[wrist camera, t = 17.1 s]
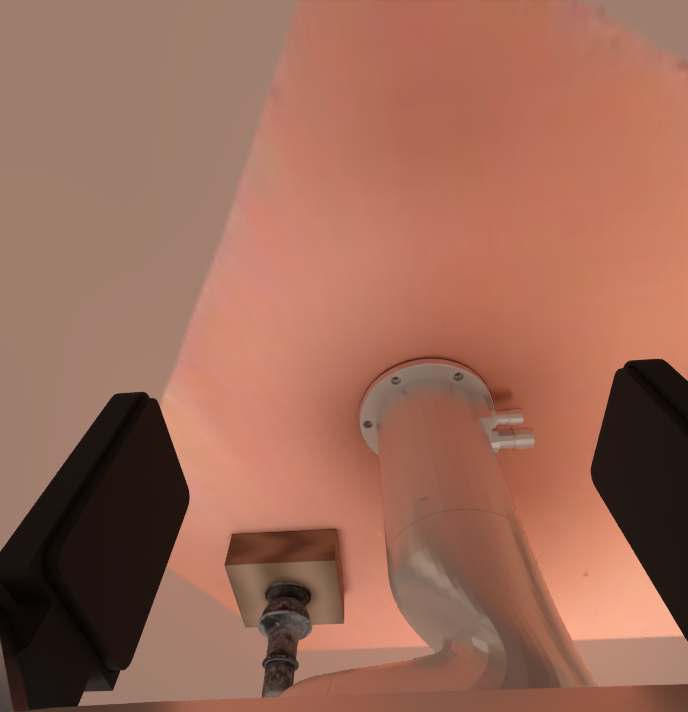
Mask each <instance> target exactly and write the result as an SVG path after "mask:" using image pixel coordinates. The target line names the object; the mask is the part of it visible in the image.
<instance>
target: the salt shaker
mask: <svg viewBox="0 0 688 712" xmlns="http://www.w3.org/2000/svg"><path fill="white" fill-rule="evenodd" d="M265 598H266V600H267V602H269V604H268V605H267V606H266V608H265V609H264V611H263V613H262V616H261V617H260V619H259V620H258V623H257V625H258V629H259V631H260V632H261V633H262V634H263V635H264V636H265V637H267V638H268V649H267V656H266V658H265V660H264V661H263V663H262V665H263V667H264V668H265V676H264V684H263V691H262V698H270V697H279V696H280V695H281V694H282V693H283V692H284V691H285V690H287V689H288V688H289V687H291V686H292V685H293V680H294V671H296V670H297V669H298V666H299V665H298V662H297V660H296V654H297V645H298V641H299V640H301V639H303V638H305V637H306V636H307V635H309V634H310V632H311V630H312V623H311V621H310V617H309V614H308V611H307V608H306V607H305V606H306V605H307V604H308V603H309V602H310V600H311V592H310V590H309V589H308V588H307V587H305V586H304V585H302V584H300V583H297V582H292V581H282V582H277V583H274V584H272V585H270V586H269V587H268V588H267V589H266V592H265Z"/></svg>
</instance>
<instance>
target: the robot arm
mask: <svg viewBox="0 0 688 712" xmlns="http://www.w3.org/2000/svg"><path fill="white" fill-rule="evenodd" d="M523 421H524V417H523V412H522V410H521V409H511V410H505V411H495V409H494V403H493V400H492V397H491V394H490V392H489V390H488V388H487V386H486V384H485V383H484V382H483V380H482V379H481V378H480V377H479V376H478V375H477V374H476V373H474V372H473V371H472V370H471V369H469V368H467V367H465V366H463V365H461V364H459V363H456V362H452V361H448V360H443V359H419V360H414V361H410V362H406V363H403V364H401V365H398V366H396V367H393V368H392V369H390V370H388V371H387V372H385V373H384V374H382V375H381V376H380V377H379V378H378V379H376V380H375V381H374V382H373V383H372V385H371V386H370V387H369V389H368V390H367V391H366V393H365V395H364V397H363V399H362V402H361V406H360V411H359V423H360V430H361V434H362V436H363V439H364V441H365V442H366V444H367V445H368V447H369V448H370V449H371V450H372V451H373V452H374V453H375V454H376V455H377V456H379V468H380V480H381V492H382V505H383V517H384V529H385V541H386V554H387V564H388V576H389V582H390V587H391V591H392V594H393V597H394V600H395V602H396V604H397V606H398V608H399V610H400V612H401V613H402V615H403V616H404V618H405V619H406V621H407V622H408V623H409V625H410V626H411V627H412V628H413V629H414V631H415V632H416V633H417V634H418V635H419V636H420V637H421V638H422V639H423V640H424V641H425V642H426V643H427V644H428V645H429V646H430V647H431V648H432V649H433V650H434V651H435V652H436V653H435V654H432V655H428V656H423V657H418V658H414V659H413V660H408V661H401V662H395V663H389V664H382V665H376V666H369V667H363V668H357V669H350V670H343V671H339V672H334V673H328V674H323V675H318V676H314V677H310V678H308V679H304V680H302V681H300V682H298V683H296V684H294V685H292V686H291V687H289V688H288V689H287V690H285V691H284V692H283V693H282V694H281V695H280V696H279V697H270V698H244V699H219V700H192V701H169V702H168V701H167V702H145V703H128V704H110V705H93V706H78V704H79V702H80V699H81V697H82V694H83V692H84V691H85V692H86V691H112V690H113V689H114V686H115V683H116V681H117V678H118V675H119V673H120V670H125V669H126V668H127V667H128V666H129V665H130V663H131V661H132V659H133V656H134V653H135V651H136V648H137V645H138V642H139V640H140V637H141V634H142V632H143V629H144V626H145V623H146V620H147V618H148V615H149V612H150V610H151V607H152V604H153V601H154V598H155V596H156V593H157V590H158V588H159V585H160V582H161V579H162V577H163V574H164V571H165V569H166V566H167V563H168V560H169V558H170V555H171V552H172V549H173V547H174V544H175V541H176V538H177V536H178V533H179V530H180V527H181V525H182V522H183V519H184V516H185V514H186V511H187V508H188V505H189V489H188V486H187V483H186V480H185V477H184V474H183V472H182V469H181V466H180V463H179V460H178V457H177V455H176V452H175V449H174V446H173V443H172V440H171V437H170V435H169V432H168V429H167V426H166V423H165V420H164V418H163V415H162V412H161V409H160V406H159V404H158V402H157V400H156V399H154V398H149V396H148V394H147V393H145V392H134V393H118V394H115V395H114V396H113V397H112V398H111V399H110V401H109V402H108V403H107V405H106V406H105V407H104V409H103V411H102V412H101V413H100V414H99V416H98V417H97V418H96V420H95V421H94V423H93V424H92V425H91V427H90V428H89V430H88V431H87V432H86V434H85V435H84V436H83V438H82V439H81V441H80V442H79V443H78V445H77V446H76V448H75V449H74V450H73V452H72V453H71V454H70V456H69V457H68V459H67V460H66V461H65V463H64V464H63V466H62V467H61V468H60V470H59V471H58V472H57V474H56V476H55V477H54V478H53V479H52V481H51V482H50V484H49V485H48V486H47V488H46V489H45V491H44V492H43V493H42V495H41V496H40V498H39V499H38V500H37V502H36V503H35V505H34V506H33V507H32V509H31V510H30V511H29V513H28V514H27V515H26V517H25V518H24V520H23V521H22V523H21V524H20V525H19V527H18V528H17V529H16V531H15V532H14V534H13V535H12V536H11V538H10V539H9V540H8V542H7V543H6V545H5V546H4V547H3V549H2V550H1V551H0V712H688V684H680V685H646V686H645V685H643V686H611V687H609V686H608V687H598V686H597V684H596V682H595V681H594V679H593V677H592V675H591V673H590V672H589V670H588V668H587V666H586V664H585V663H584V661H583V659H582V657H581V655H580V654H579V652H578V650H577V648H576V646H575V644H574V643H573V640H572V638H571V637H570V635H569V633H568V631H567V629H566V627H565V625H564V623H563V621H562V619H561V617H560V615H559V612H558V610H557V608H556V606H555V604H554V601H553V599H552V597H551V595H550V593H549V590H548V588H547V585H546V583H545V581H544V578H543V576H542V573H541V571H540V568H539V566H538V563H537V561H536V558H535V556H534V553H533V551H532V548H531V545H530V543H529V540H528V538H527V536H526V533H525V531H524V528H523V526H522V523H521V520H520V518H519V515H518V513H517V510H516V508H515V505H514V502H513V500H512V497H511V495H510V492H509V489H508V487H507V484H506V482H505V479H504V476H503V474H502V471H501V469H500V466H499V464H498V461H497V458H496V456H495V453H498V452H499V449H507V448H512V449H529V448H534V445H535V436H534V432H533V429H532V428H531V427H525V428H510V429H506V430H497V428H496V426H497V425H519V424H523ZM591 477H592V481H593V484H594V486H595V487H596V489H597V491H598V492H599V494H600V496H601V497H602V499H603V501H604V502H605V504H606V506H607V507H608V509H609V511H610V513H611V514H612V516H613V518H614V519H615V521H616V523H617V524H618V526H619V528H620V529H621V531H622V533H623V534H624V536H625V538H626V539H627V541H628V543H629V544H630V546H631V548H632V549H633V551H634V553H635V554H636V556H637V558H638V559H639V561H640V563H641V564H642V566H643V568H644V569H645V571H646V573H647V574H648V576H649V578H650V580H651V581H652V583H653V585H654V586H655V588H656V590H657V591H658V593H659V595H660V596H661V598H662V600H663V601H664V603H665V605H666V606H667V608H668V610H669V611H670V613H671V615H672V616H673V618H674V620H675V621H676V623H677V625H678V626H679V628H680V630H681V631H682V633H683V635H684V636H685V638H686V639H687V641H688V381H687V380H686V379H685V378H684V377H682V376H681V375H680V374H679V373H678V372H677V371H676V370H675V369H674V368H673V367H672V366H670V365H669V364H668V363H667V362H666V361H664V360H663V359H648V360H632V361H629V362H627V363H626V364H625V365H624V367H623V368H621V369H618V370H617V371H616V373H615V376H614V380H613V384H612V387H611V391H610V395H609V399H608V403H607V407H606V411H605V415H604V419H603V422H602V426H601V430H600V434H599V438H598V442H597V446H596V450H595V454H594V458H593V461H592V465H591Z"/></svg>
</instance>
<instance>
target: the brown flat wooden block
mask: <svg viewBox="0 0 688 712" xmlns="http://www.w3.org/2000/svg"><path fill="white" fill-rule="evenodd" d="M225 568H226V571H227V574H228V577H229V580H230V583H231V586H232V589H233V592H234V595H235V598H236V601H237V604H238V607H239V610H240V613H241V616H242V619H243V622H244V625H245V627H258V625H257V623H258V620H259V619H260V617H261V616H262V613H263V611H264V609H265V608H266V606H267V605H268V604H269V602H267V600H266V598H265V592H266V589H267V588H268V587H269V586H270V585H272V584H274V583H277V582H282V581H292V582H297V583H300V584H302V585H304V586H305V587H307V588H308V589H309V590H310V592H311V600H310V602H309V603H308V604H307V605H306V606H305V607H306V608H307V611H308V614H309V617H310V621H311V623H312V625H319V624H344V587H343V579H342V572H341V564H340V557H339V549H338V542H337V534H336V529H332V530H311V531H291V532H271V533H250V534H232V537H231V541H230V545H229V549H228V553H227V557H226V561H225Z"/></svg>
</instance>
